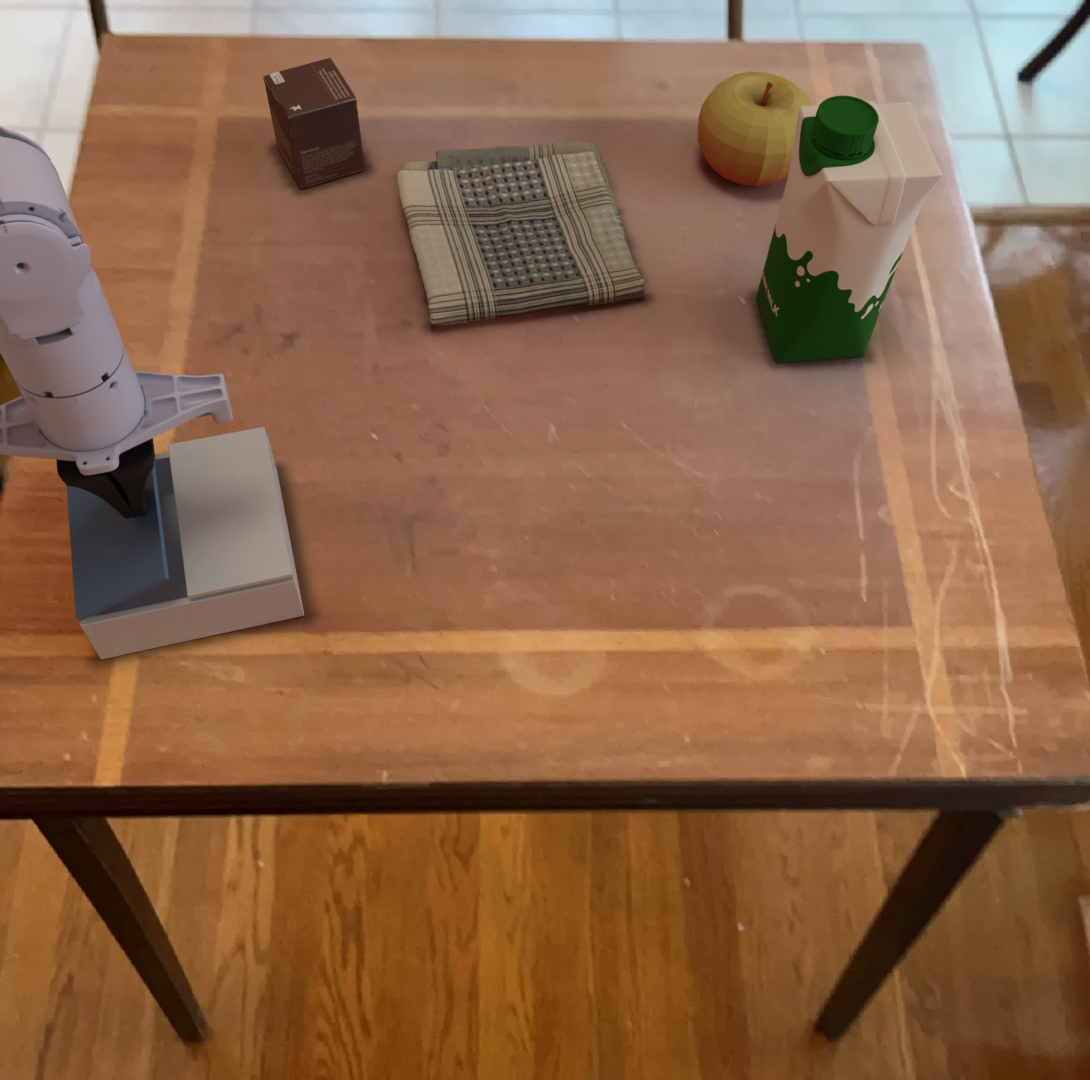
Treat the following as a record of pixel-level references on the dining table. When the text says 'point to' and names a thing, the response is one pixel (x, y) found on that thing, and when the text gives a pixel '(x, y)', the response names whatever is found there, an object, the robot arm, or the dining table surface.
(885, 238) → the milk carton
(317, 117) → the box
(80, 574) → the flap
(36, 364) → the robot arm
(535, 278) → the dish towel
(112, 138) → the dining table surface
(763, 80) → the apple
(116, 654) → the carton
